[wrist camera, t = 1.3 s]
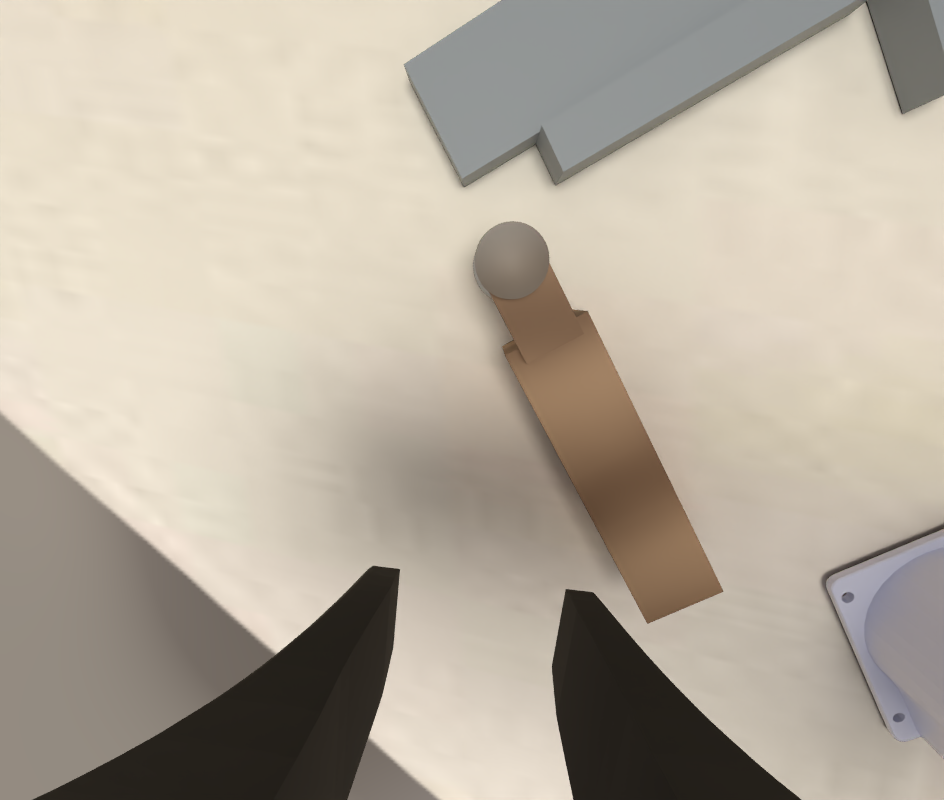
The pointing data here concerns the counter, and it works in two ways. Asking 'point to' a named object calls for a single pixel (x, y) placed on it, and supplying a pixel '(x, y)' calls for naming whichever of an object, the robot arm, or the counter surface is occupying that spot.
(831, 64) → the counter surface
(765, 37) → the grey stepped plate
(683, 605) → the leg bar
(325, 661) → the robot arm
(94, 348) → the counter surface
